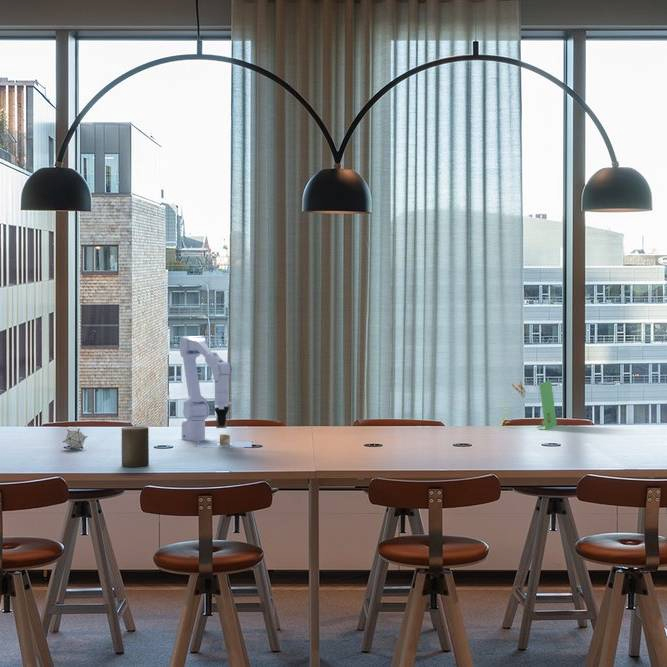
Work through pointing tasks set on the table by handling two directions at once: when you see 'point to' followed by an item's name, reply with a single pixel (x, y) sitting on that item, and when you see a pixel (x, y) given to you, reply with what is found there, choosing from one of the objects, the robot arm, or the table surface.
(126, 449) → the pillar candle
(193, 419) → the robot arm
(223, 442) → the maple cube
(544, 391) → the toy game set
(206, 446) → the board
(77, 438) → the beige spiky star ball
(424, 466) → the table surface
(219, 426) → the walnut cube
